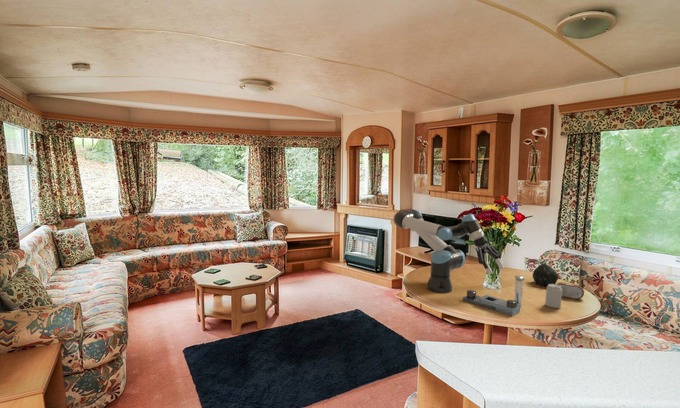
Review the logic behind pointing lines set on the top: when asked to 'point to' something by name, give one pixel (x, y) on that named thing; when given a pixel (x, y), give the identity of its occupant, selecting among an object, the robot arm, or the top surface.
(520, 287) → the steel pin
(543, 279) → the squash
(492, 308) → the plate with dome knobs
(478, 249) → the robot arm
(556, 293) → the can
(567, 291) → the tin
